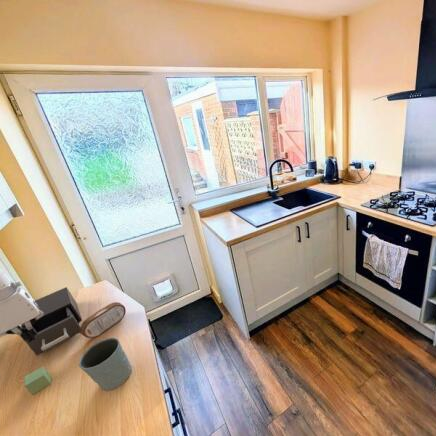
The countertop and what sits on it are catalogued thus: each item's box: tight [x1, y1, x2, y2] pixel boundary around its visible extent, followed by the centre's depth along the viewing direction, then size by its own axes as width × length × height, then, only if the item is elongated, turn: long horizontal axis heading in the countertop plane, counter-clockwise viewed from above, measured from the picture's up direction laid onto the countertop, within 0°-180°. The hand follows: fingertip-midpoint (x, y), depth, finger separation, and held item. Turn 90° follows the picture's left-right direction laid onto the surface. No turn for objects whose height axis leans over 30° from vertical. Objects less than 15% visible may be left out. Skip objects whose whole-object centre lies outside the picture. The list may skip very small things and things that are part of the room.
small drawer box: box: [20, 286, 82, 328], centre depth 101 cm, size 16×15×10 cm
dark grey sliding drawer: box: [24, 306, 81, 357], centre depth 92 cm, size 20×13×8 cm, turn 46°
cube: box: [24, 366, 52, 395], centre depth 77 cm, size 4×4×4 cm
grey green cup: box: [78, 337, 133, 392], centre depth 75 cm, size 10×10×12 cm
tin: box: [79, 301, 127, 339], centre depth 95 cm, size 15×3×8 cm, turn 149°
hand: (32, 338), depth 78 cm, fingers closed
